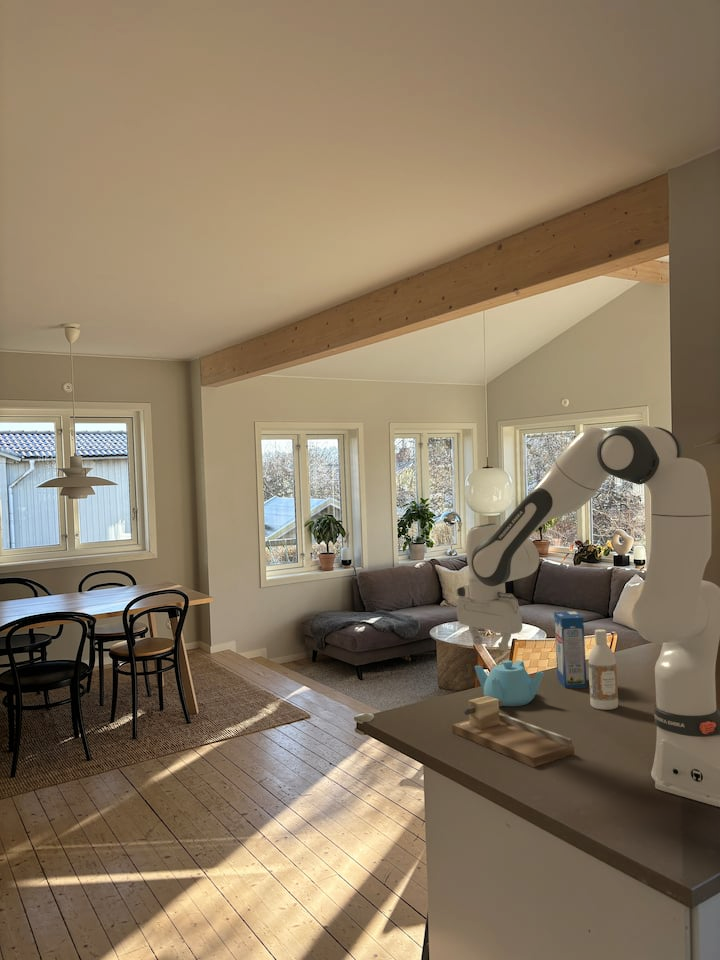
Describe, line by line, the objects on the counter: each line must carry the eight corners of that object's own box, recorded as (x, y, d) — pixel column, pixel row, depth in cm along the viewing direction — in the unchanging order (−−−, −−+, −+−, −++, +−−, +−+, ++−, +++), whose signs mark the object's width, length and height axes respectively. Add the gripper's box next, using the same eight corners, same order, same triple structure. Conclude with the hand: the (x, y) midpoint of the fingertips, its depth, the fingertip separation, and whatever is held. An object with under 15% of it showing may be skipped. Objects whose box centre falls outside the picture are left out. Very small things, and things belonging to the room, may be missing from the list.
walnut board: (574, 754, 167) (573, 738, 167) (533, 767, 161) (532, 750, 161) (490, 722, 192) (490, 708, 192) (452, 732, 185) (452, 718, 185)
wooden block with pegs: (507, 721, 185) (506, 697, 185) (472, 731, 180) (470, 706, 180) (496, 717, 189) (495, 693, 189) (461, 727, 183) (460, 702, 183)
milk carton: (557, 678, 228) (554, 612, 228) (578, 677, 228) (574, 611, 227) (565, 688, 218) (561, 618, 218) (586, 687, 218) (583, 617, 218)
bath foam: (597, 711, 196) (593, 634, 196) (586, 703, 203) (582, 628, 202) (623, 709, 197) (619, 631, 196) (610, 701, 203) (607, 626, 203)
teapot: (548, 705, 203) (545, 665, 203) (494, 711, 200) (492, 670, 200) (524, 690, 218) (522, 652, 218) (474, 695, 215) (473, 657, 215)
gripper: (526, 592, 178) (530, 651, 178) (470, 585, 196) (473, 639, 195) (506, 596, 175) (510, 656, 175) (451, 588, 192) (454, 643, 192)
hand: (490, 647), depth 185 cm, fingers open, 8 cm apart
